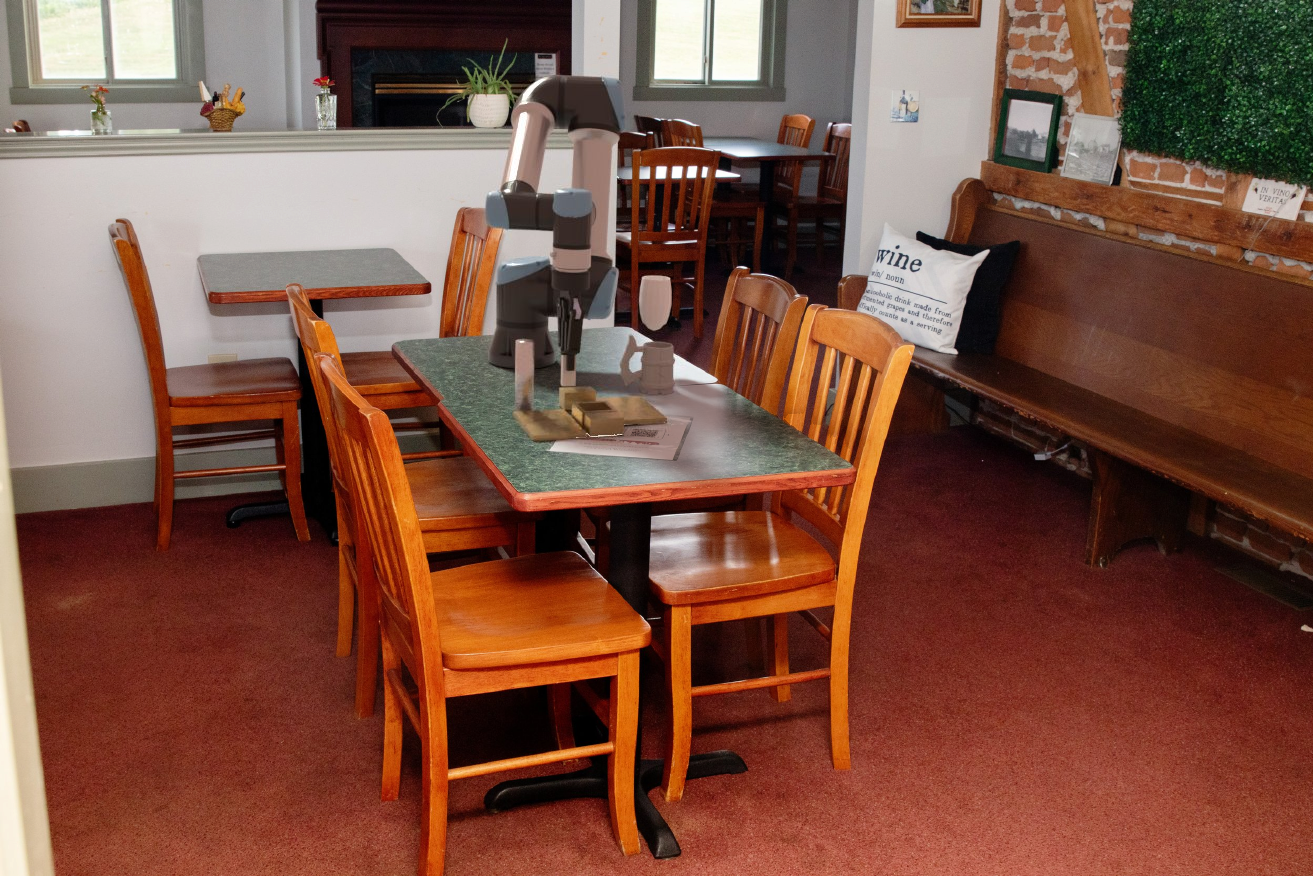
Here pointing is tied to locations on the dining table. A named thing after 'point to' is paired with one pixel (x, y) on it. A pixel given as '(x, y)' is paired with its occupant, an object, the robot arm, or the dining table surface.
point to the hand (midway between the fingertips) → (568, 385)
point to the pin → (524, 375)
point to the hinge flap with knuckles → (614, 405)
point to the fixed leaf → (571, 421)
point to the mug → (650, 366)
